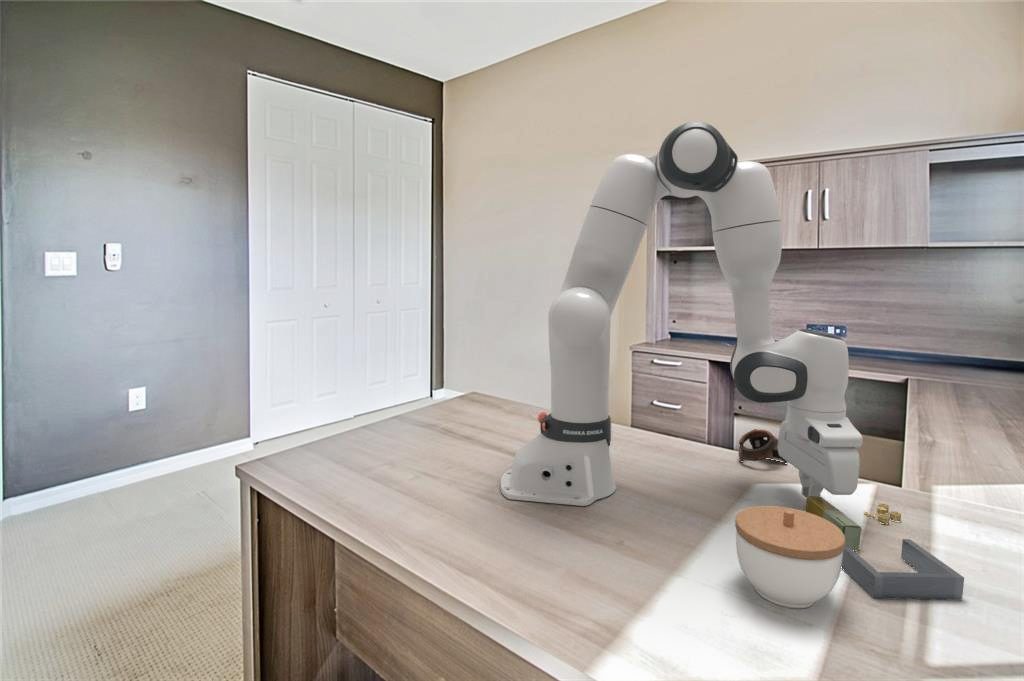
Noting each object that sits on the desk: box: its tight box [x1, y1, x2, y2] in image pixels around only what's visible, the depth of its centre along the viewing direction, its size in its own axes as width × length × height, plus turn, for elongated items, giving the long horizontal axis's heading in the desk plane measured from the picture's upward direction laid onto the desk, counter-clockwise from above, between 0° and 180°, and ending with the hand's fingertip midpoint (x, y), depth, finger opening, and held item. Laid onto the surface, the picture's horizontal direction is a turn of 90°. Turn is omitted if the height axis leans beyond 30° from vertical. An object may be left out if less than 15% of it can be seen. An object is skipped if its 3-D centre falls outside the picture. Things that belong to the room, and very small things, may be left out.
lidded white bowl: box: [734, 505, 846, 609], centre depth 70 cm, size 13×13×11 cm
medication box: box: [804, 496, 862, 551], centre depth 87 cm, size 12×3×4 cm, turn 177°
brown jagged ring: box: [738, 428, 788, 466], centre depth 120 cm, size 12×10×8 cm
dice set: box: [863, 502, 902, 524], centre depth 92 cm, size 5×5×2 cm
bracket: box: [841, 538, 965, 600], centre depth 74 cm, size 11×10×3 cm
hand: (810, 498), depth 96 cm, fingers closed
